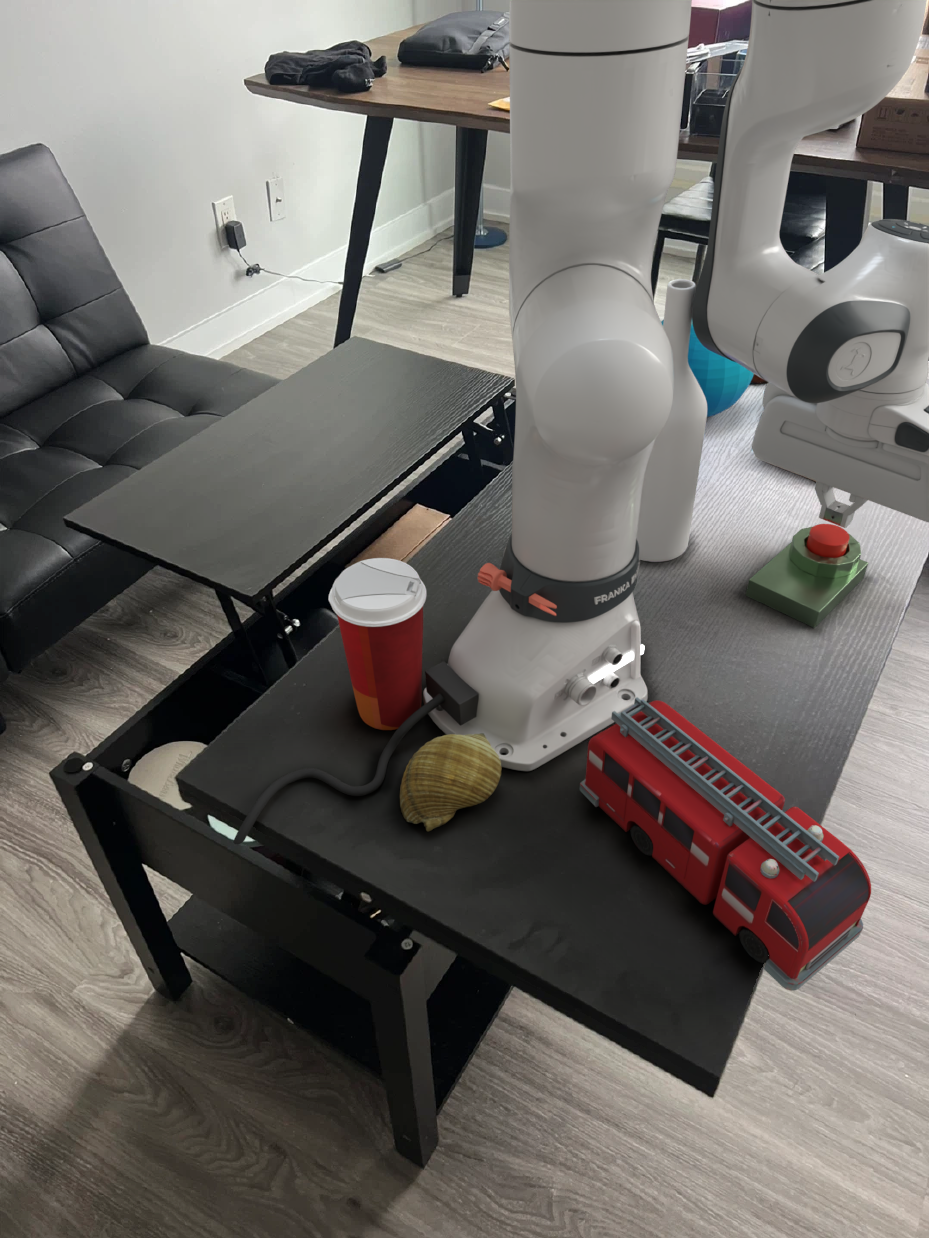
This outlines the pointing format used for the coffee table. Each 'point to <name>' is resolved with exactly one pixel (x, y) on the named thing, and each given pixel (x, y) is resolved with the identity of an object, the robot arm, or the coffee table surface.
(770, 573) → the green lamp base
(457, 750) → the seashell
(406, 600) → the coffee cup
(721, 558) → the coffee table surface
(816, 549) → the lamp button
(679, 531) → the bottle
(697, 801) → the toy
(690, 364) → the decorative orb
